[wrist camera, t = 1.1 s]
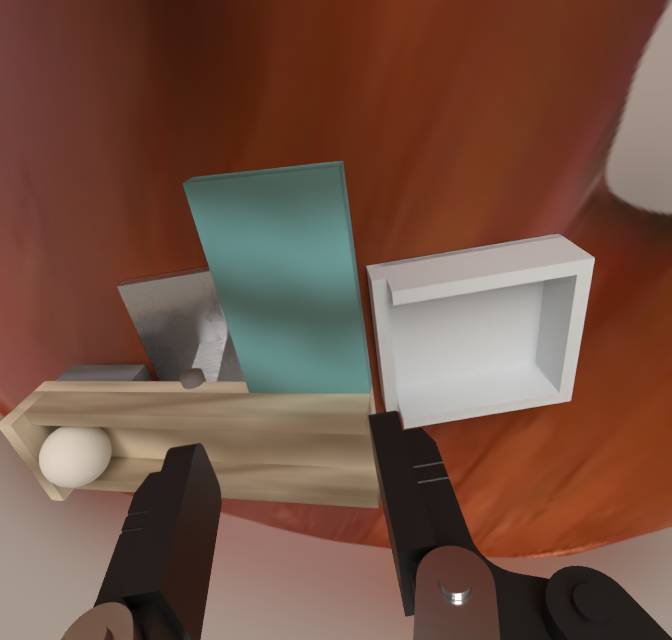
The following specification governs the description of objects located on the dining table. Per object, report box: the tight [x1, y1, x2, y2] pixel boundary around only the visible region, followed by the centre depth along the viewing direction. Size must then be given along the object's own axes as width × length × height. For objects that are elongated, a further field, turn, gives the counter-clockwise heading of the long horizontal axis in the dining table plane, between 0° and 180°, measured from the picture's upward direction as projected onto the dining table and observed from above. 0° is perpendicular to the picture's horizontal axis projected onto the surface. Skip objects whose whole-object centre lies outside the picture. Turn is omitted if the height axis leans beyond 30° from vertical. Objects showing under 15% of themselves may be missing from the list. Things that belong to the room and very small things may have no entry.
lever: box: [0, 161, 380, 508], centre depth 26 cm, size 20×22×6 cm
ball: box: [39, 426, 112, 488], centre depth 29 cm, size 4×4×4 cm
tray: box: [366, 234, 595, 429], centre depth 33 cm, size 12×14×4 cm
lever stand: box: [117, 266, 245, 382], centre depth 33 cm, size 16×10×6 cm, turn 8°
